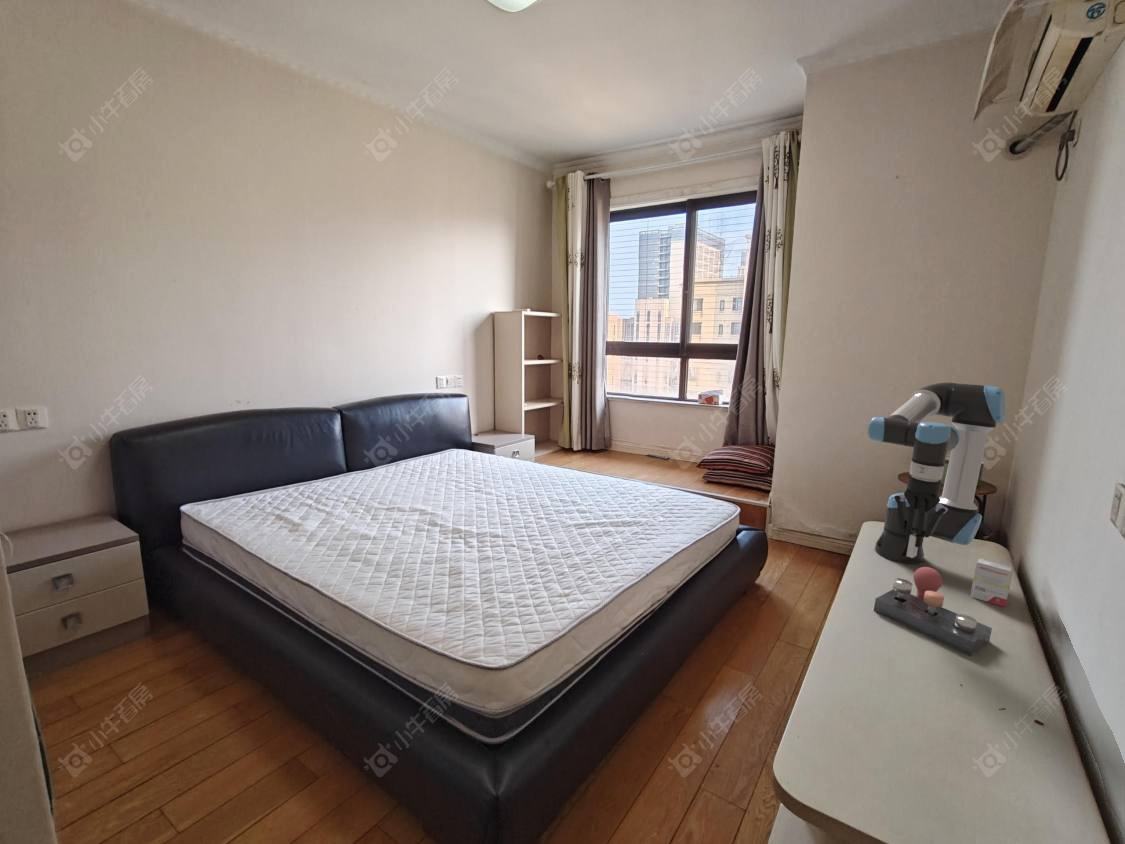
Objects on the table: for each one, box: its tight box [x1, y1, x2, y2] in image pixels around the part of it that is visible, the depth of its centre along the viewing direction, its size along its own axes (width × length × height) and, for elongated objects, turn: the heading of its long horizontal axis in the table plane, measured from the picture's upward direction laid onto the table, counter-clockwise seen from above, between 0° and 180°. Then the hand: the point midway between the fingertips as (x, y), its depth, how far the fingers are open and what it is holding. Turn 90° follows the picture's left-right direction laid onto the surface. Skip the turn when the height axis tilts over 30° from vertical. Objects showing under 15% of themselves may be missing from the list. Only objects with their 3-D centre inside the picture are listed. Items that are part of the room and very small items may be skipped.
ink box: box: [970, 558, 1014, 608], centre depth 157 cm, size 9×5×12 cm, turn 46°
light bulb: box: [912, 566, 943, 600], centre depth 153 cm, size 7×7×12 cm
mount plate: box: [873, 588, 993, 657], centre depth 143 cm, size 12×24×4 cm, turn 32°
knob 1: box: [892, 578, 913, 602], centre depth 149 cm, size 4×4×6 cm
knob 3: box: [955, 613, 978, 632], centre depth 136 cm, size 4×4×6 cm
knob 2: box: [923, 591, 945, 616], centre depth 142 cm, size 4×4×6 cm
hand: (911, 555), depth 146 cm, fingers closed
